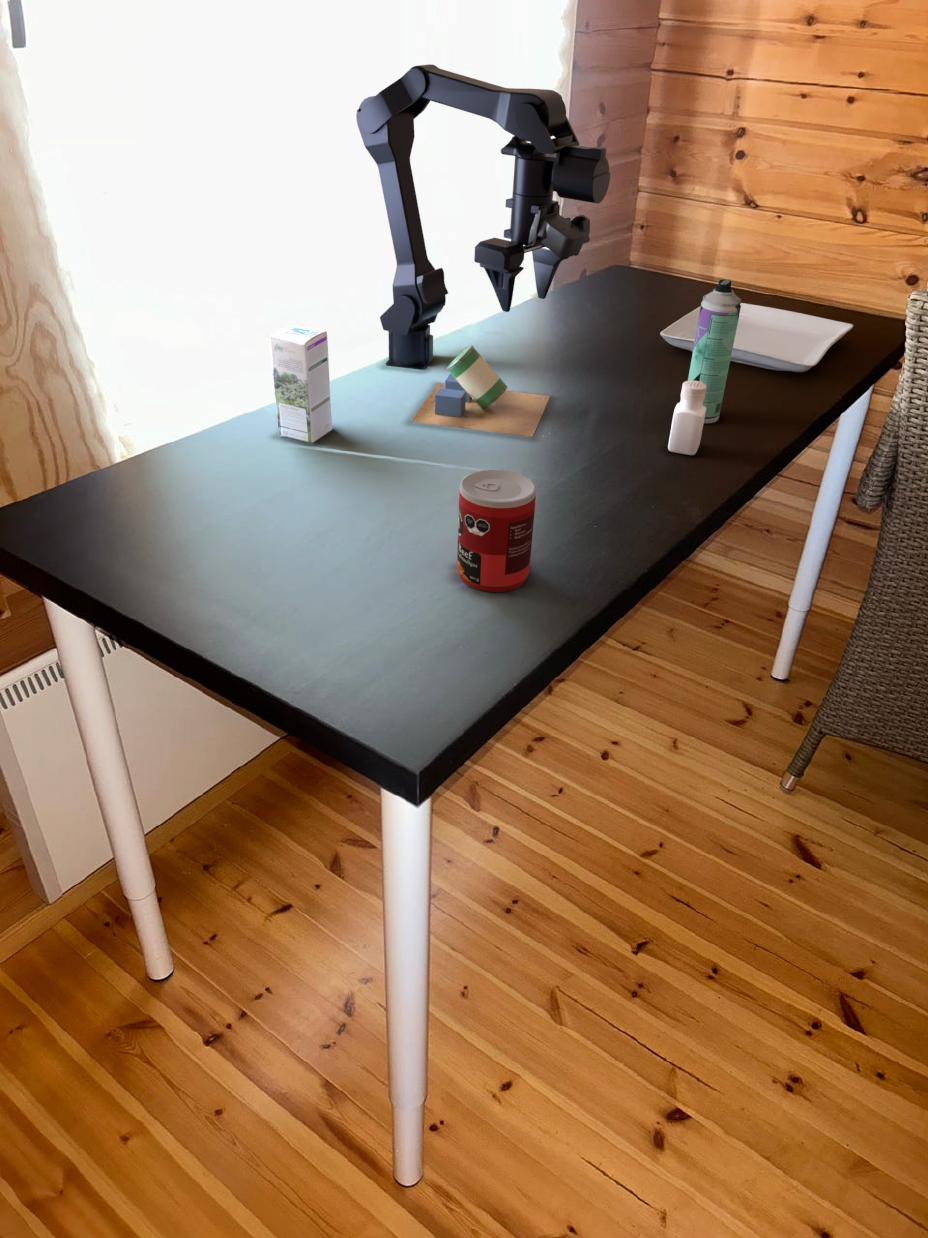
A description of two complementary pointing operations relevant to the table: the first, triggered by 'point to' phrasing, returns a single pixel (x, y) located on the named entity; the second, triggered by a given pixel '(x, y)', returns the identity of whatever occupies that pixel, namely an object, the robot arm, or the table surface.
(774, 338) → the square plate
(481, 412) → the cork mat
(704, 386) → the pepper shaker
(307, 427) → the syrup box
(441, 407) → the blue blocks
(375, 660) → the table surface
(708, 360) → the spray can
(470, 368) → the green tin
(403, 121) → the robot arm
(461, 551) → the canned food
